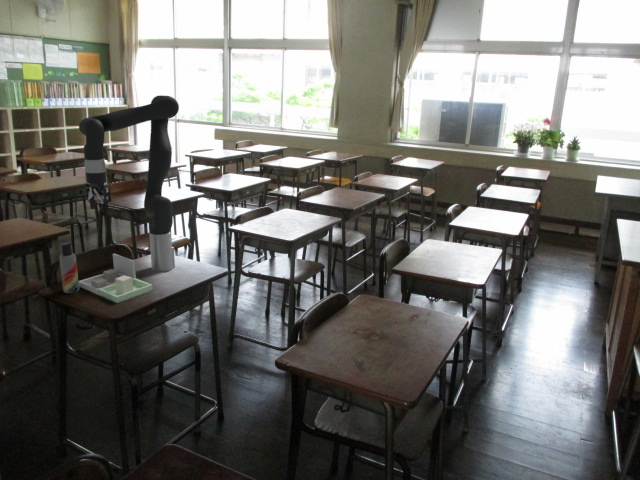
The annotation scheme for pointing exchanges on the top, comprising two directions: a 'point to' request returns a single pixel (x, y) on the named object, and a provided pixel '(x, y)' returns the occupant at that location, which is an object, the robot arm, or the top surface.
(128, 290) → the beige block
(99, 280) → the pale grey block
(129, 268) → the grey drawer face panel
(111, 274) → the grey cubic sharp-edged block
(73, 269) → the lotion bottle
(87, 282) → the grey bin
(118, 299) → the green bin
